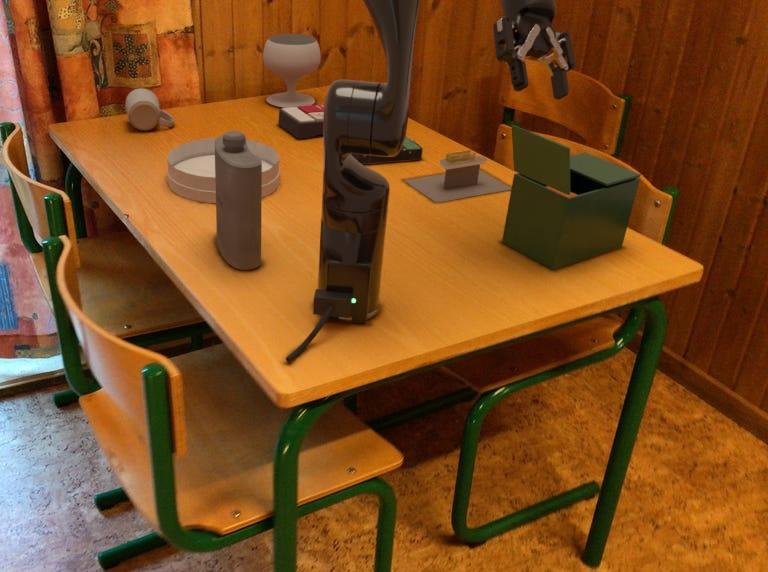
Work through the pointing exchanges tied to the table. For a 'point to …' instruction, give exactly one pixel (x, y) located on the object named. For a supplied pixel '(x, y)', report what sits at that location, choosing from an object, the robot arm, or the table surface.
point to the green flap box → (571, 213)
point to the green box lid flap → (541, 159)
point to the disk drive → (406, 154)
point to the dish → (213, 169)
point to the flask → (238, 201)
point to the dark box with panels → (302, 120)
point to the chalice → (291, 65)
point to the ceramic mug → (146, 110)
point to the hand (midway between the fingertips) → (542, 93)
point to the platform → (458, 179)
